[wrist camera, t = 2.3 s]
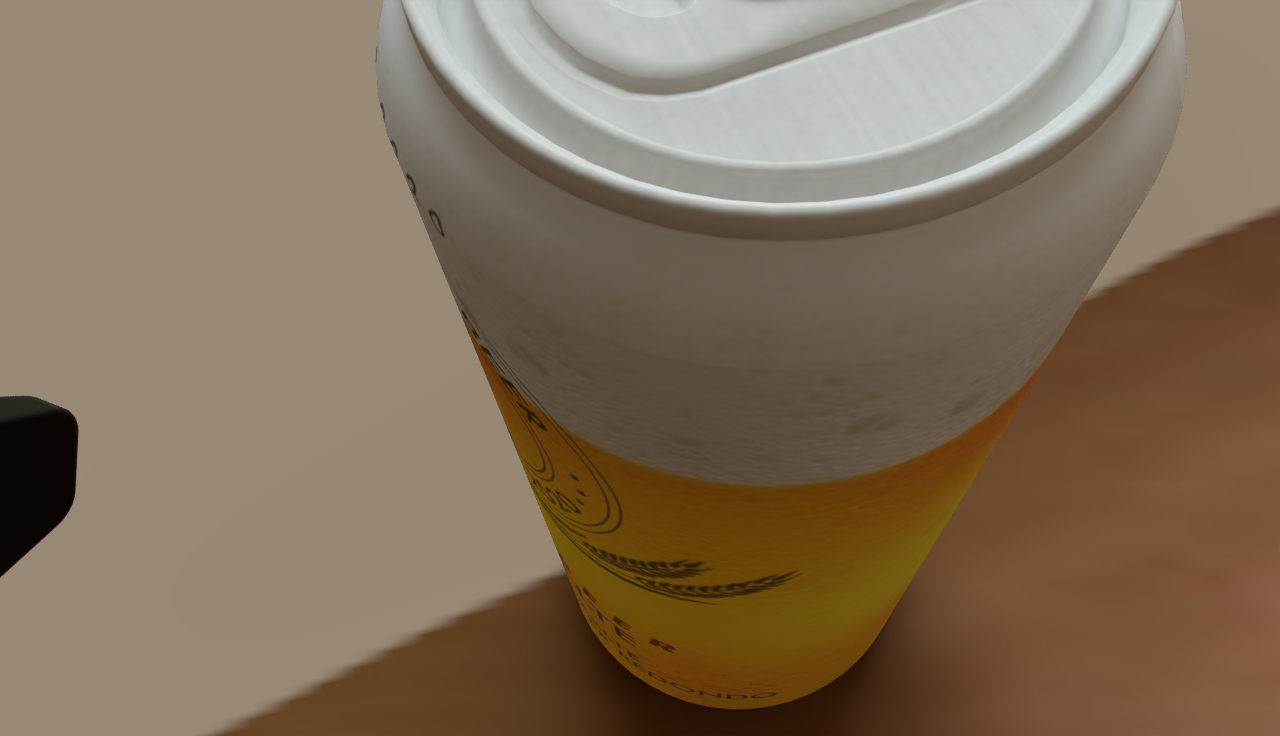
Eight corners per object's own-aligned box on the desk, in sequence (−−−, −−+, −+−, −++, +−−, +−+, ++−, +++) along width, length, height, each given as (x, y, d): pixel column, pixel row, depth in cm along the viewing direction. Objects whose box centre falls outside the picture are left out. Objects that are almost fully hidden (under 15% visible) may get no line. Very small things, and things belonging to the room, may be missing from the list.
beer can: (544, 442, 22) (291, -296, 9) (838, 373, 22) (1037, -443, 9) (610, 754, 19) (391, 386, 6) (942, 670, 20) (1453, 140, 6)
